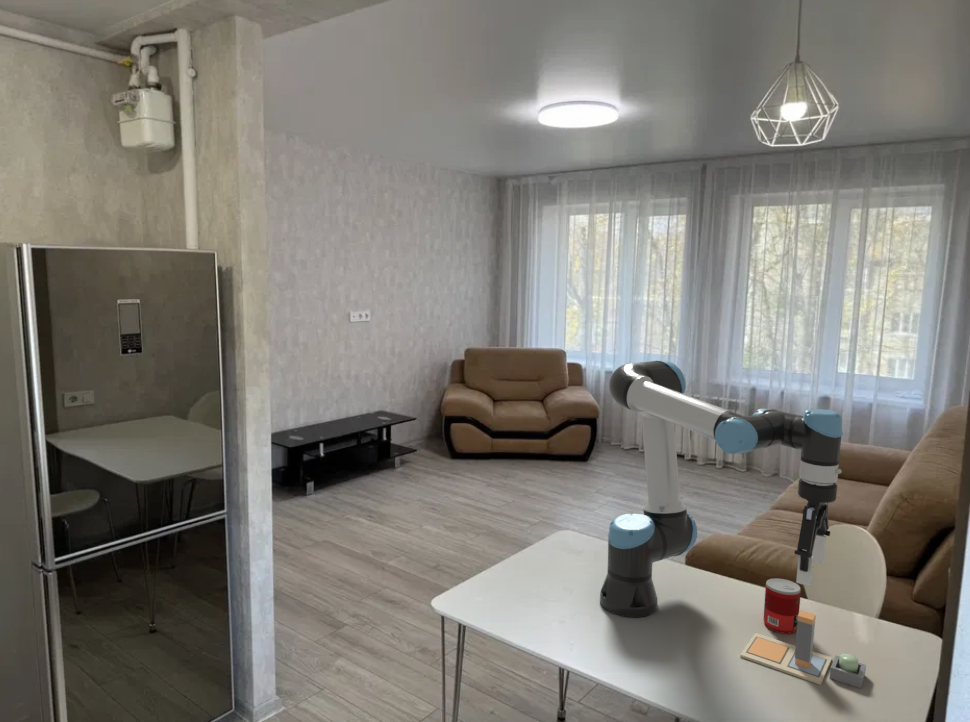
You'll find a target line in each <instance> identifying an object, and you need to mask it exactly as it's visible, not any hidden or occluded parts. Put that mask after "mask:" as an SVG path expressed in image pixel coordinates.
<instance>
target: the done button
mask: <svg viewBox="0 0 970 722" xmlns="http://www.w3.org/2000/svg"><path fill="white" fill-rule="evenodd" d="M839 656H840V659H839V669H842V670H846V671H849V672H852V673H855V674H857V670H858V663H859V659H858V658H857V656H854V655H853V654H850V653H841V654H839Z"/></svg>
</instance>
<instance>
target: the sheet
mask: <svg viewBox="0 0 970 722" xmlns="http://www.w3.org/2000/svg"><path fill="white" fill-rule="evenodd" d="M750 638H751V639H750V640H749V641H748V643H747V645H746V646H745V647H744V648H743V650H742V652H741V653H740V654H739V655H740V656H739V657H740V658H742V659H745V660H748V661H751V662H754V663H757V664H760V665H762V666H764V667H765V666H766V667H768V668H771V669H774V670H777V671H780V672H782V673H784V674H788V675H791V676H794V677H796V678H800V679H802V680H805V681H808V682H811V683H813V684H817V685H820V686H821V685H822V684H823V681H824V679H825V677H826V674H827V672H828V669H829V668H830V666H831V664H832V663H831V662H833V657H832V656H828V655H826V654H822V653H820V652H815V651H813V653H812V659H811V664H810V666H809V669H808V668H805V667H802V666H799V665H796V664H795V649H796V644H792V643H788V642H785V641H781V640H778V639H775V638H772V637H769V636H766V635H763V634H761V633H756V632H755V633H754V634H753V635H752V637H750Z"/></svg>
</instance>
